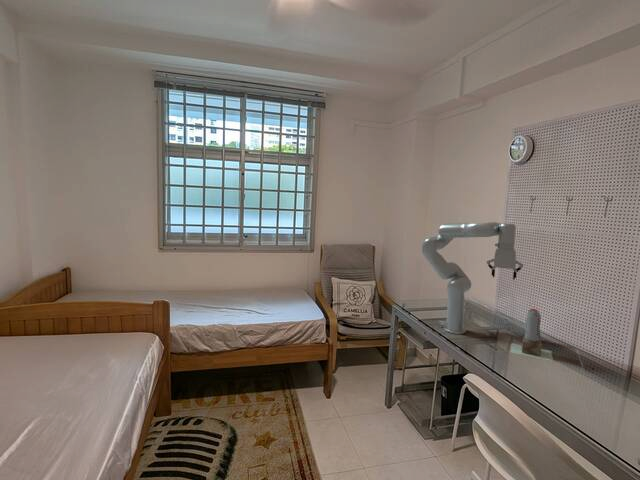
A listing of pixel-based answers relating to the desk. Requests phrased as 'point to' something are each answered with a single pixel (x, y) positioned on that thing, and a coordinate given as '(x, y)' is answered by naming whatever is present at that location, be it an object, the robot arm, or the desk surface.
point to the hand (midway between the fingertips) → (503, 278)
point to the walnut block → (531, 347)
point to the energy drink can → (532, 326)
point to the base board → (544, 355)
